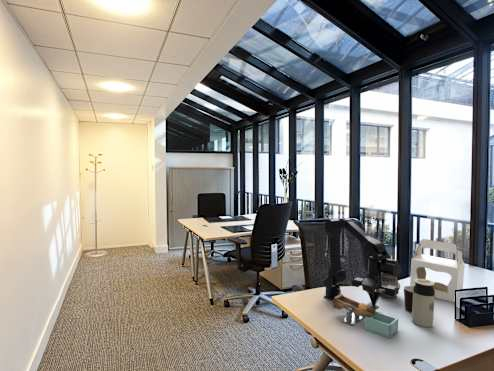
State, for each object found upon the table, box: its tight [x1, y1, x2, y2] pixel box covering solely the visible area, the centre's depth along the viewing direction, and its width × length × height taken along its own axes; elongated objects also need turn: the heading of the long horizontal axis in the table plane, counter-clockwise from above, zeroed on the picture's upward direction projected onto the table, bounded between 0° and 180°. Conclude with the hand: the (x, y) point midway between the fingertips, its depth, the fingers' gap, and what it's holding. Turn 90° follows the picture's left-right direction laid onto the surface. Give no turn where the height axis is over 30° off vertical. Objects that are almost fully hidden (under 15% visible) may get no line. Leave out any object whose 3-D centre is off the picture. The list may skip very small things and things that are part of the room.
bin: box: [364, 310, 399, 339], centre depth 130 cm, size 10×9×5 cm
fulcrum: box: [341, 301, 364, 327], centre depth 139 cm, size 5×11×6 cm, turn 136°
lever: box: [332, 293, 380, 319], centre depth 142 cm, size 16×14×5 cm
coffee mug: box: [403, 285, 414, 314], centre depth 150 cm, size 12×9×10 cm
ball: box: [358, 302, 367, 312], centre depth 136 cm, size 4×4×4 cm
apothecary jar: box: [379, 274, 401, 300], centre depth 167 cm, size 12×12×18 cm
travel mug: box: [411, 279, 436, 328], centre depth 137 cm, size 8×8×18 cm
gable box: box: [409, 238, 465, 303], centre depth 171 cm, size 22×13×28 cm, turn 45°
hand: (373, 305), depth 143 cm, fingers closed
